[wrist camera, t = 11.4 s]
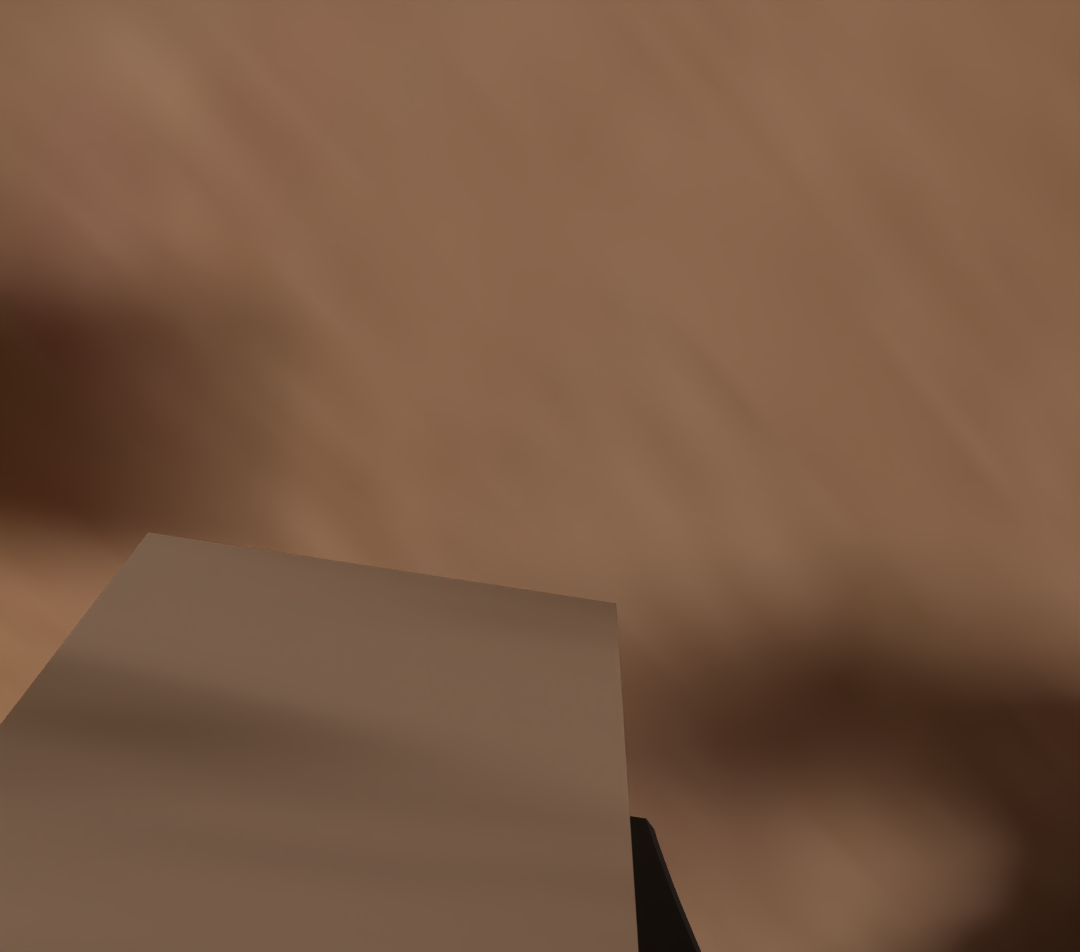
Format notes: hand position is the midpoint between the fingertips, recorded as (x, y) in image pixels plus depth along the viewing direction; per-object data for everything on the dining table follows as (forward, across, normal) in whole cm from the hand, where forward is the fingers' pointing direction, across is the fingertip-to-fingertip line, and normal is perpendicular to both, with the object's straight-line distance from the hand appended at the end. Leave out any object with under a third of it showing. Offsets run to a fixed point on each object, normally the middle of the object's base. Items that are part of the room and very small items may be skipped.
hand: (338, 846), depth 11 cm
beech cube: (+2, 0, 0) cm, 2 cm away
